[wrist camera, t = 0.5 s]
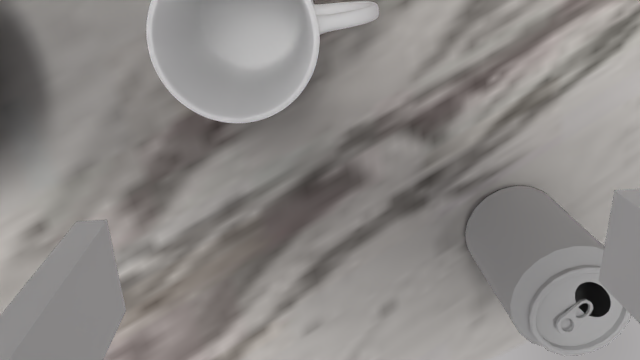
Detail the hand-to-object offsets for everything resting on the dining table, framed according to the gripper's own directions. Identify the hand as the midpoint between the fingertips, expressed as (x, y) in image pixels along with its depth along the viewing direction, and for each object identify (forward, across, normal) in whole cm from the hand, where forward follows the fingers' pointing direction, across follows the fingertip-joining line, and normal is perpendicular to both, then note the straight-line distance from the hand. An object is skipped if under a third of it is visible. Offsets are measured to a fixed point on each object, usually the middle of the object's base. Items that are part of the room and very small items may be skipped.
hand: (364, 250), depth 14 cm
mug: (+26, -3, +4) cm, 26 cm away
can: (+26, +14, -13) cm, 32 cm away
